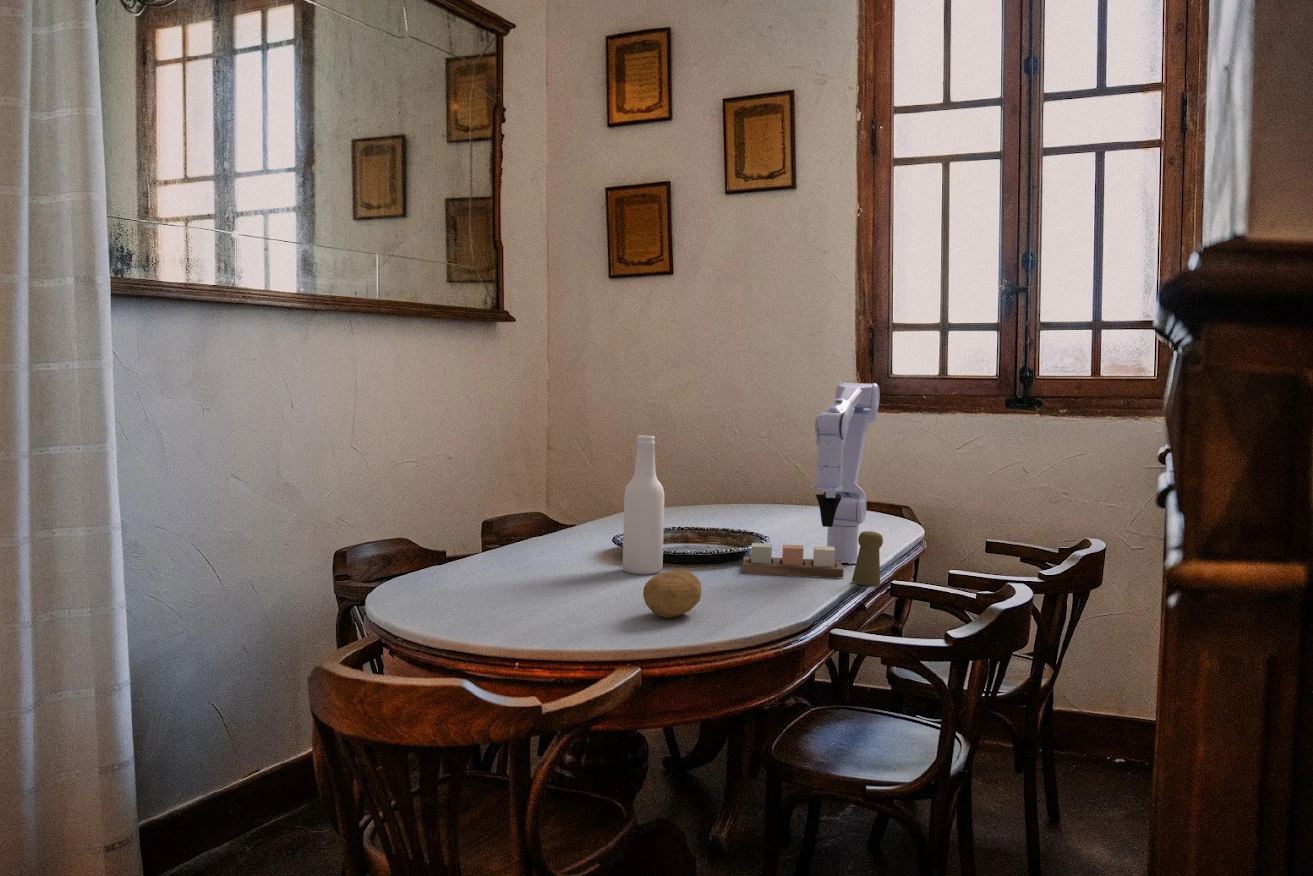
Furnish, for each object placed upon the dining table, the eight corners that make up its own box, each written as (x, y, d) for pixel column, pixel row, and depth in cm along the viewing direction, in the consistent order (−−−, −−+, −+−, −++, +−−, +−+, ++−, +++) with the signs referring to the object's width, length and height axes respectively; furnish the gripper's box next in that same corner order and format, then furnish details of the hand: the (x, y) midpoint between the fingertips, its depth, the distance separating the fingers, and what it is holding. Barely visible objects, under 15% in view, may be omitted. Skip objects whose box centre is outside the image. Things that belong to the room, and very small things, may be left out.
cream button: (813, 563, 234) (813, 545, 234) (833, 564, 233) (834, 546, 233) (814, 567, 229) (814, 549, 229) (834, 568, 229) (835, 550, 229)
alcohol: (662, 575, 224) (666, 438, 221) (622, 574, 224) (625, 436, 221) (662, 567, 232) (665, 435, 230) (623, 566, 232) (626, 434, 230)
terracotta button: (782, 561, 235) (782, 544, 234) (802, 562, 234) (802, 545, 234) (782, 565, 230) (783, 548, 230) (802, 566, 230) (803, 548, 229)
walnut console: (743, 564, 238) (744, 556, 238) (840, 569, 236) (840, 560, 236) (742, 573, 229) (742, 564, 228) (843, 578, 226) (843, 569, 226)
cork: (865, 586, 218) (871, 535, 216) (845, 579, 223) (851, 529, 221) (886, 584, 221) (891, 534, 220) (866, 577, 226) (871, 528, 225)
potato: (627, 620, 185) (628, 576, 184) (665, 605, 197) (667, 564, 196) (674, 628, 180) (676, 583, 179) (711, 612, 192) (712, 570, 191)
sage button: (751, 560, 235) (751, 543, 235) (771, 561, 235) (771, 544, 235) (750, 564, 231) (751, 546, 231) (771, 565, 230) (771, 547, 230)
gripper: (810, 462, 238) (807, 521, 239) (813, 468, 224) (810, 530, 225) (841, 464, 237) (838, 522, 238) (846, 469, 223) (843, 531, 224)
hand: (827, 526), depth 231 cm, fingers closed
